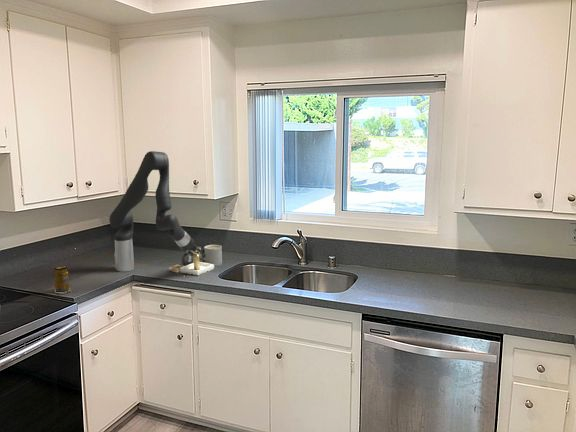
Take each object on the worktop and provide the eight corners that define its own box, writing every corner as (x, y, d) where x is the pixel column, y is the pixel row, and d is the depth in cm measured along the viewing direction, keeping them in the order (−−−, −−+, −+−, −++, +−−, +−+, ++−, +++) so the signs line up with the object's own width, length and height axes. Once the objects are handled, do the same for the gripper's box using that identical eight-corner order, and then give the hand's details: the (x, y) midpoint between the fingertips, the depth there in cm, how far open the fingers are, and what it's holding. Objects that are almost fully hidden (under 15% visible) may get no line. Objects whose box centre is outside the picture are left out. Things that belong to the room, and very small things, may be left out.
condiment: (67, 287, 227) (65, 264, 225) (74, 291, 222) (72, 267, 219) (51, 291, 222) (49, 267, 220) (58, 295, 216) (56, 271, 214)
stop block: (169, 270, 253) (169, 267, 253) (177, 267, 259) (176, 264, 258) (177, 272, 251) (177, 269, 250) (185, 269, 256) (185, 266, 255)
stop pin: (191, 269, 253) (190, 251, 251) (196, 267, 256) (195, 250, 254) (197, 270, 251) (196, 252, 249) (202, 268, 254) (201, 250, 253)
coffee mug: (224, 261, 271) (224, 245, 269) (218, 266, 261) (218, 249, 259) (202, 260, 273) (202, 244, 271) (196, 265, 264) (195, 248, 262)
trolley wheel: (181, 267, 260) (180, 251, 258) (189, 264, 266) (188, 248, 264) (186, 268, 258) (185, 251, 256) (194, 265, 264) (193, 248, 262)
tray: (180, 272, 251) (180, 267, 250) (197, 265, 263) (197, 261, 262) (197, 275, 245) (197, 271, 245) (214, 268, 257) (214, 264, 257)
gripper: (197, 235, 240) (211, 251, 252) (176, 232, 247) (191, 248, 259) (191, 247, 237) (205, 263, 249) (170, 244, 243) (185, 260, 255)
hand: (198, 255), depth 254 cm, fingers open, 8 cm apart
